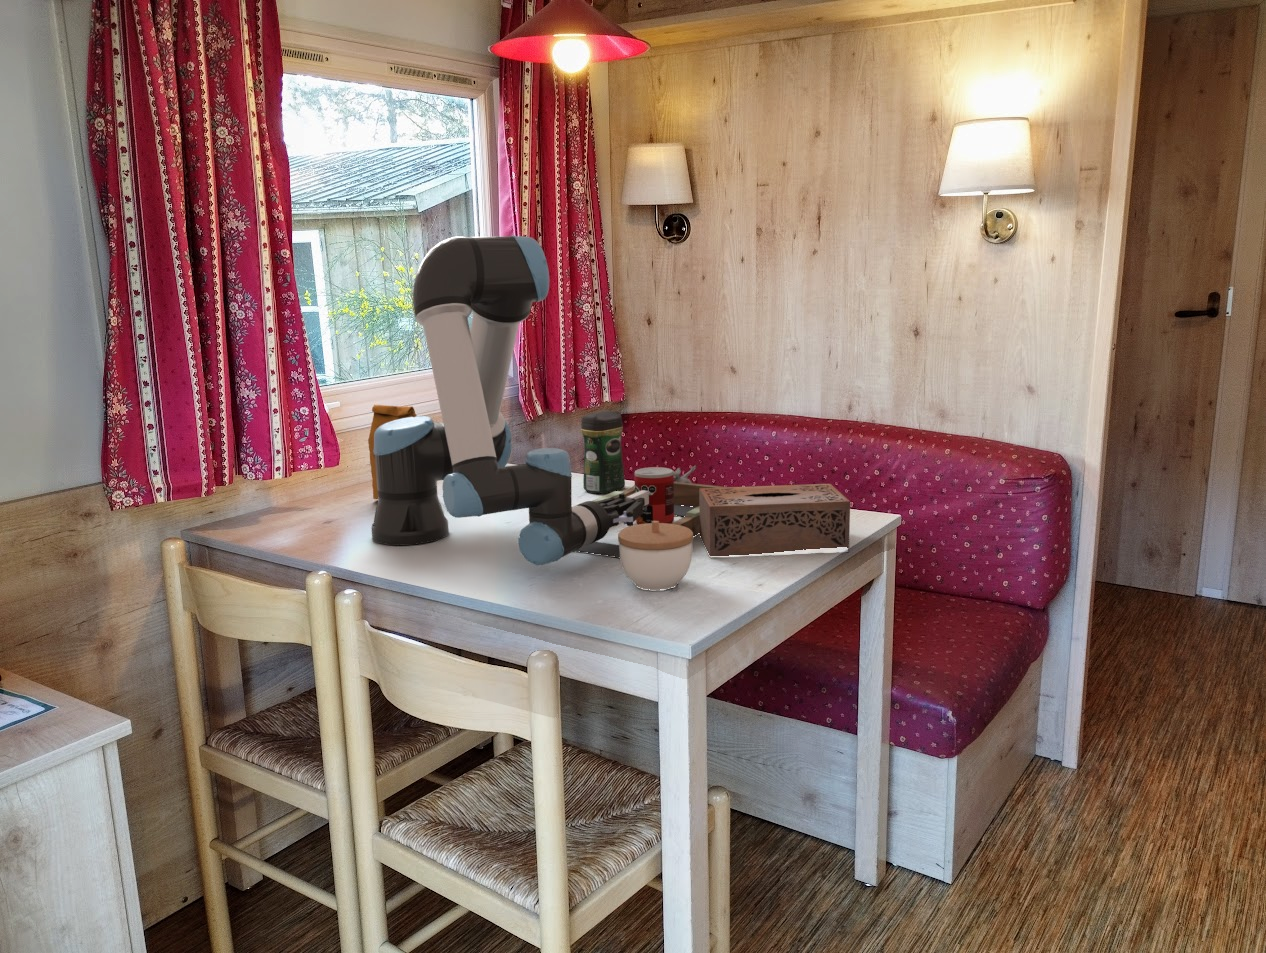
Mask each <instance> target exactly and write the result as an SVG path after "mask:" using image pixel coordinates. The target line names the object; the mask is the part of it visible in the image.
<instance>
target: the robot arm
mask: <svg viewBox="0 0 1266 953" xmlns="http://www.w3.org/2000/svg"><path fill="white" fill-rule="evenodd" d="M427 252H428V253H426V255H425V257H424V258H423V259H422V261H421V263H420V265H419V267H418V269H417V273H416V275H415V278H414V283H413V288H412V289H413V290H412V306H413V311H414V316H415V321H416V322H417V323H418V324H419V325H420V326H422V327H423V329H424V330H423V331H424V336H425V340H426V341H425V342H426V345H427V350H428V354H429V360H430V364H431V365H430V366H431V369H432V374H433V381H434V383H435V384H434V385H435V389H436V394H437V399H438V404H439V409H440V413H441V417H442V421H440V422H435V421H434V420H433V418H431V416H428V415H426V416H425V415H417V417H407V418H402V419H398V420H394V421H390V422H388V423H385V424H383V425H381V426H380V427H378V428H377V429H376V431H375V433H374V451H373V452H374V454H375V465H376V478H377V489H378V499H377V505H376V508H375V512H374V518H373V523H372V524H371V539H372V540H373V541H374V542H376V543H378V544H381V545H388V546H410V545H411V546H412V545H421V544H427V543H431V542H435V541H438V540H440V539H444V538H445V537H446V536H448V535H449V521H448V518H447V517H446V516H445V513H444V510H443V507H442V503H441V502H440V499H439V496H438V481H442V500H443V502H444V506H445V509H446V511H447V513H448V514H450V515H451V516H452V517H454V518H459V519H460V518H461V519H462V518H468V517H469V518H470V517H481V516H484V515H491V514H496V513H503V512H509V511H517V510H524V509H528V520H529V522H528V524H527V525H525V526H524V527H523V528H522V529H521V531H520V533H519V535H518V537H517V545H518V549H519V552H520V554H521V556H522V557H523V558H524V559H525V560H526V561H527V562H529V563H530V564H532V565H535V566H544V565H547V564H550V563H553V562H558V561H559V560H561V559H562V558H563V557H565V556H568V555H569V554H572V553H577V552H576V551H577V550H578V549H580V548H582V547H584V546H586V545H589V544H591V543H593V542H599V541H600V540H601V539H603V538H604V537H605V536H606V535H607V534H608V532H609V530H610V529H611V528H612V527H616V526H618V525H619V524H620V523H623V524H624V525H626V526H627V527H630V526H634V522H636V519H637V518H638V517H639V516H640V515H642V514H643V506H645V505H648V504H649V491H646V490H641V491H639V492H637V493H634V494H632V495H630V496H627V497H626V498H625V494H619V498H618V499H616V500H615V498H614V497H611V498H607V499H603V500H600V501H596V502H593V500H587V501H583V502H581V503H579V504H576V505H573V506H572V504H573V503H572V500H573V499H572V478H573V477H572V476H573V475H572V468H571V467H572V466H571V460H570V455H569V453H568V452H567V451H566V450H565V449H561V448H557V447H544V448H543V447H541V448H535V449H531V450H529V451H527V453H526V458H525V463H522V464H515V465H507V464H508V462H509V460H510V458H511V455H512V454H511V453H512V450H513V448H512V447H513V446H512V443H511V441H512V440H513V438H512V437H513V436H512V430H511V428H510V426H509V424H508V421H507V420H506V419H505V417H504V414H502V412H501V410H502V409H501V408H502V404H503V400H504V395H505V390H506V387H507V381H508V378H509V372H510V369H511V362H512V358H513V354H514V349H515V344H516V341H517V340H516V339H517V334H518V330H519V327H520V326H519V325H520V323H521V322H524V321H525V320H526V319H528V317H530V314H531V309H532V307H533V302H535V303H539V302H542V301H544V300H546V298H547V297H548V294H549V289H550V272H549V271H550V270H549V267H548V262H547V257H546V256H545V252H544V250H543V248H542V246H541V245H540V244H539V242H538V241H537V240H536V239H535V238H534V237H531V236H525V235H524V236H519V235H517V236H516V235H514V234H512V235H509V236H467V237H466V236H453V237H450V238H446V239H444V240H442V241H440V242H438V243H437V244H436V245H435V246H433V247H431V249H430V250H429V251H427ZM471 314H472V318H471V322H470V323H469V320H468V318H470V316H471Z"/></svg>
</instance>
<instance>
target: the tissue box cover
mask: <svg viewBox="0 0 1266 953" xmlns="http://www.w3.org/2000/svg"><path fill="white" fill-rule="evenodd" d="M724 487H725V488H699V507H700V534H699V537H700V536H701V538H700V540H701V539H702V540H701V542H702V541H703V543H704V545H705V547H706V549H707V551H708V553H709V555H710V556H729V555H749V554H762V553H774V552H784V551H795V550H803V549H804V550H806V549H820V548H837V547H847V548H849V549H850V524H851V520H850V518H851V500H849V499H848V498H847V497H846V496H845V495H844V494H843V493H842V492H841V491H839V490H838V489H837V488H836V487H835V486H833V485H832V484H831V483H813V484H812V483H811V484H789V485H788V484H784V485H783V484H782V485H757V486H756V485H755V486H731V487H730V486H729V487H728V486H724ZM703 543H702V544H703ZM704 545H703V546H704ZM705 547H704V548H705ZM706 549H705V550H706ZM707 551H706V552H707ZM708 553H707V554H708ZM709 555H708V556H709Z"/></svg>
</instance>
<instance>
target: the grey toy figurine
mask: <svg viewBox="0 0 1266 953" xmlns="http://www.w3.org/2000/svg"><path fill="white" fill-rule="evenodd" d="M696 469H697V465H694V466H691V468H690V470H689V471H687V472H686V473H684V474H682V475H681V473H682V470H681V467H678V468H677V469H675V471H674V470H673V474H674V482H684V483H693V482H692V481H691V479H689V478H688V477H689V476H690V475H691V473H693V472H694V471H695V470H696ZM680 475H681V476H680Z"/></svg>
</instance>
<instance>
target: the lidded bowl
mask: <svg viewBox="0 0 1266 953" xmlns="http://www.w3.org/2000/svg"><path fill="white" fill-rule="evenodd" d="M693 540H694V538H693V532H692V531H691V530H690V529H689V528H687V527H684V526H681V525H676V524H667V523H659V521H652V523H647V524H639V525H638V524H633V526H627V527H625V528H623V529H621V530H619V532H618V534H617V542H618V545H619V552H620V558H619V559H620V563H621V567H622V569H623V571H624V573H625V575H626V577H628V579H629V580H630V581H631V582H632V583H634V585H635V584H636V586H638V587H640V588H643V589H648V590H649V589H650V590H660V589H668V588H671V587H674V586H676V585H677V583H678V584H679V583H680V582H681V581H682V580H683V579H684V577H685V576H686V575H687V573H688V572H689V569H690V567H691V563H692V559H693V558H692V557H693ZM636 586H635V587H636ZM677 586H678V585H677ZM677 586H676V587H677Z"/></svg>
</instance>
